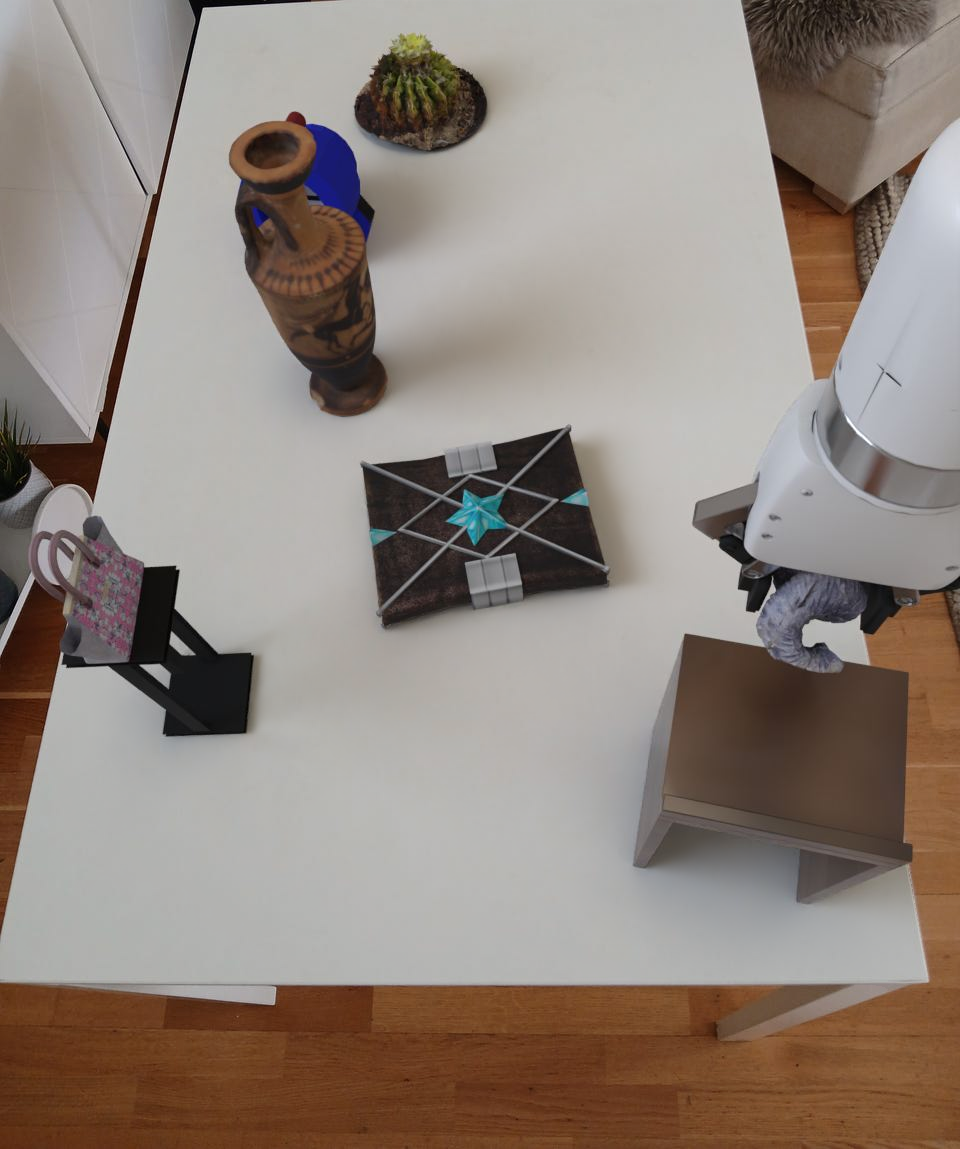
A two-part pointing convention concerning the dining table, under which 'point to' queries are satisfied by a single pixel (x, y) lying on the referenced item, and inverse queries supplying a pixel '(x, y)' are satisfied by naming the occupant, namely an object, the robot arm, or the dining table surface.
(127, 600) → the handbag
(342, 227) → the vase
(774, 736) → the shelf
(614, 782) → the dining table surface
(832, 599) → the seashell
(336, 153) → the alarm clock
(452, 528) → the book
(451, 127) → the cactus
